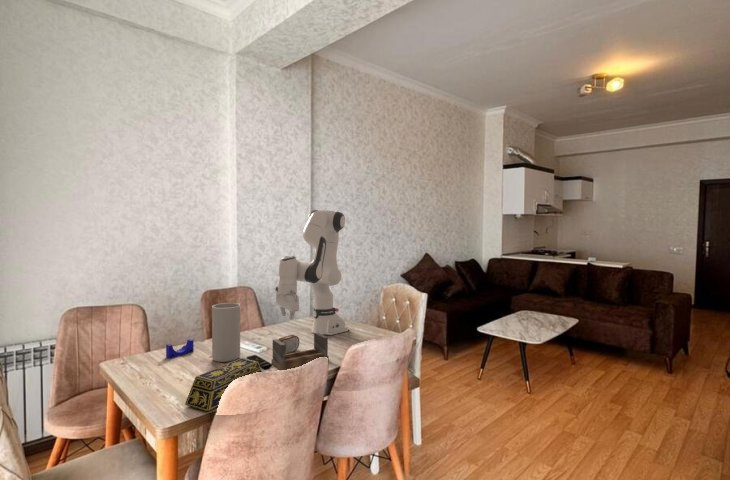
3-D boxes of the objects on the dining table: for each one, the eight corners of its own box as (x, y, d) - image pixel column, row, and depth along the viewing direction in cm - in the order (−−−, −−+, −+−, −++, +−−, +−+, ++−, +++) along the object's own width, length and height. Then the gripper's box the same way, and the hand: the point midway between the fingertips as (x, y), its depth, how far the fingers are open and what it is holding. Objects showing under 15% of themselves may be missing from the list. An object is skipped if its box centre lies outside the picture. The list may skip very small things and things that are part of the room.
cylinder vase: (231, 363, 177) (231, 308, 176) (206, 361, 179) (206, 307, 178) (245, 354, 189) (245, 303, 188) (221, 352, 191) (221, 302, 190)
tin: (296, 348, 199) (296, 332, 198) (300, 350, 197) (300, 333, 197) (273, 356, 186) (273, 339, 186) (278, 358, 185) (278, 340, 184)
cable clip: (188, 350, 195) (188, 338, 195) (193, 352, 192) (193, 340, 192) (164, 356, 186) (164, 344, 185) (169, 358, 183) (169, 345, 183)
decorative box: (184, 404, 136) (184, 379, 136) (246, 376, 163) (246, 354, 163) (206, 411, 131) (206, 385, 131) (266, 380, 158) (266, 358, 158)
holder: (318, 354, 190) (318, 332, 190) (328, 360, 182) (328, 337, 182) (271, 363, 177) (271, 339, 176) (279, 370, 168) (280, 345, 168)
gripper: (302, 291, 184) (302, 321, 184) (285, 286, 201) (285, 313, 201) (290, 292, 180) (289, 322, 181) (274, 287, 197) (273, 314, 197)
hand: (287, 317), depth 191 cm, fingers open, 8 cm apart
